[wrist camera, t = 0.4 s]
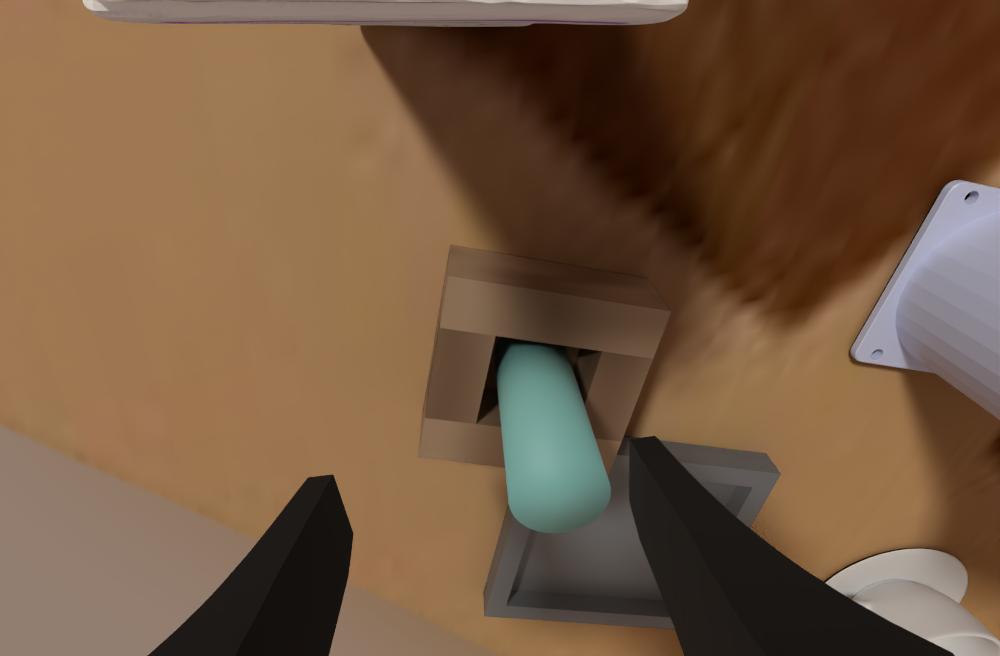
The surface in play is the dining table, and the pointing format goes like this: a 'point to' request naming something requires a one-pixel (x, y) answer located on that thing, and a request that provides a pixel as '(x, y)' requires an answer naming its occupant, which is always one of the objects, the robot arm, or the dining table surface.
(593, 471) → the dowel
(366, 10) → the syrup box
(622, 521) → the tray
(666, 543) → the robot arm
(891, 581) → the teacup
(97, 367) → the dining table surface
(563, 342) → the block
